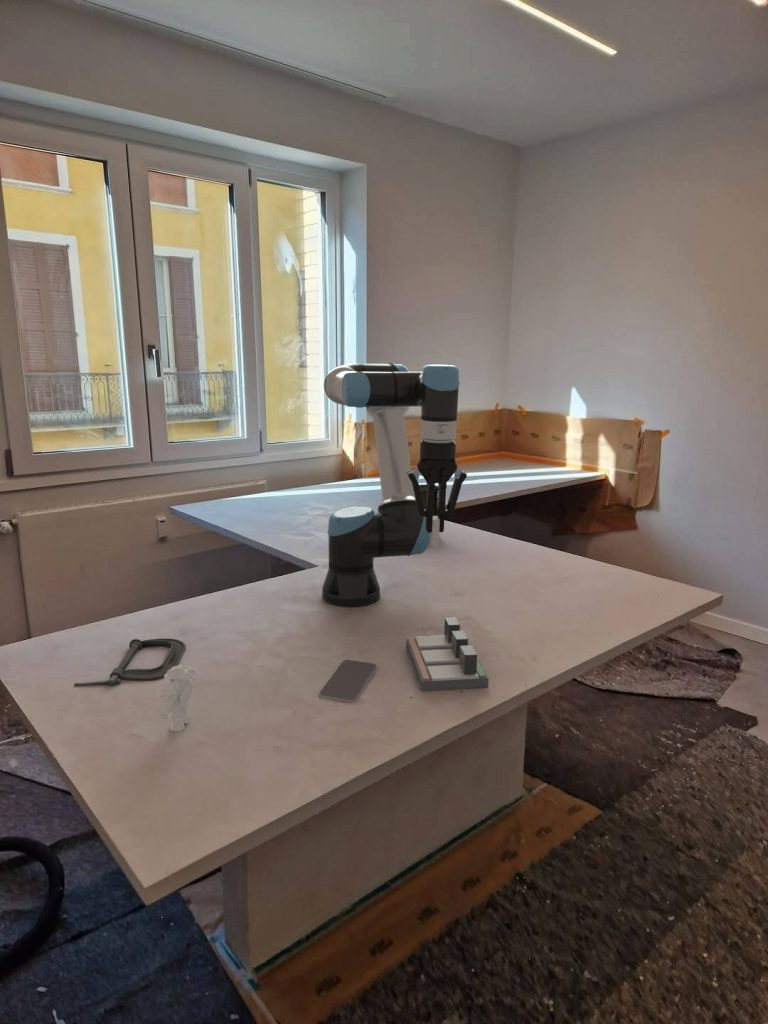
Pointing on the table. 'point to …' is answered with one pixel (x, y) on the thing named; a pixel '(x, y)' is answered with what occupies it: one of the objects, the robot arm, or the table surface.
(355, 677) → the smartphone
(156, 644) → the c clamp
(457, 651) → the block
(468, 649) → the block
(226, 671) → the table surface
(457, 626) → the block
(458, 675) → the panel
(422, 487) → the container
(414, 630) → the table surface
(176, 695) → the hat wearing toy figure
